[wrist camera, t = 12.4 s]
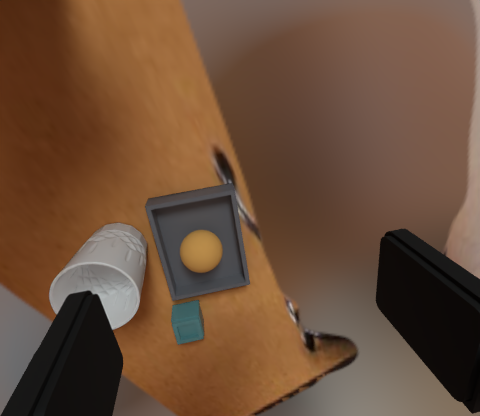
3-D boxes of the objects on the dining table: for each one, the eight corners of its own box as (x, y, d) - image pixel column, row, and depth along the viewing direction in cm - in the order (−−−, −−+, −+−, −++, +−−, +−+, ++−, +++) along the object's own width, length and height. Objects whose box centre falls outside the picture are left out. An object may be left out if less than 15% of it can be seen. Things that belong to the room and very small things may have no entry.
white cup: (152, 274, 39) (139, 331, 30) (87, 273, 38) (53, 333, 29) (153, 219, 37) (139, 263, 27) (83, 216, 35) (44, 261, 26)
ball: (176, 226, 37) (173, 247, 32) (217, 219, 37) (220, 238, 32) (185, 261, 39) (184, 285, 34) (224, 253, 39) (227, 276, 34)
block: (172, 305, 41) (170, 324, 38) (198, 299, 42) (199, 318, 38) (178, 325, 43) (177, 345, 39) (203, 319, 43) (204, 339, 40)
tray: (148, 198, 35) (145, 206, 33) (231, 183, 36) (234, 189, 34) (173, 288, 40) (172, 300, 38) (246, 272, 41) (250, 284, 39)
